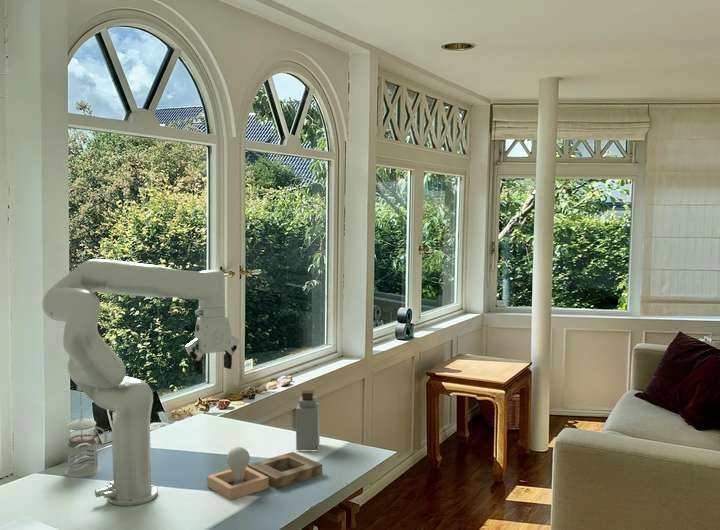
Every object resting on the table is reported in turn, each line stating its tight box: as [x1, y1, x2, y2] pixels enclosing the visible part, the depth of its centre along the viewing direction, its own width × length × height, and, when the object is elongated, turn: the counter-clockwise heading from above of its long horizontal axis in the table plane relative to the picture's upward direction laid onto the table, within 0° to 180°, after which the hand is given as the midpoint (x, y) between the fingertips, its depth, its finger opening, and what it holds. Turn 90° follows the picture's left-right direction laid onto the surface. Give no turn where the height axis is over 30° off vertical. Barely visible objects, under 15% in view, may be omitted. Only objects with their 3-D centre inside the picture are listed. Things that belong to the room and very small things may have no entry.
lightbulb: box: [226, 446, 251, 485], centre depth 197 cm, size 6×6×11 cm
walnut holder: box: [247, 451, 323, 490], centre depth 206 cm, size 16×14×3 cm
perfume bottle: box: [295, 389, 321, 451], centre depth 228 cm, size 7×7×18 cm
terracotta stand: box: [206, 466, 270, 501], centre depth 197 cm, size 12×12×3 cm
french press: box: [64, 386, 108, 478], centre depth 208 cm, size 10×12×25 cm
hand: (213, 370), depth 211 cm, fingers open, 9 cm apart
